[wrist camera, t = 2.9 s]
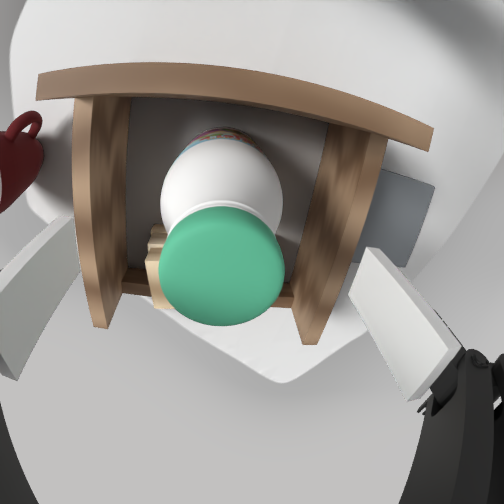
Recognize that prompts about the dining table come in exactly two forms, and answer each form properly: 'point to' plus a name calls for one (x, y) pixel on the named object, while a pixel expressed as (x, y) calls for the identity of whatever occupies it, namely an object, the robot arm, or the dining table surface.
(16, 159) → the mug
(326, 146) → the rack
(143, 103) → the dining table surface
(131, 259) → the dining table surface
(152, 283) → the offcut top
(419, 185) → the mat
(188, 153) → the milk bottle
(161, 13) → the dining table surface
